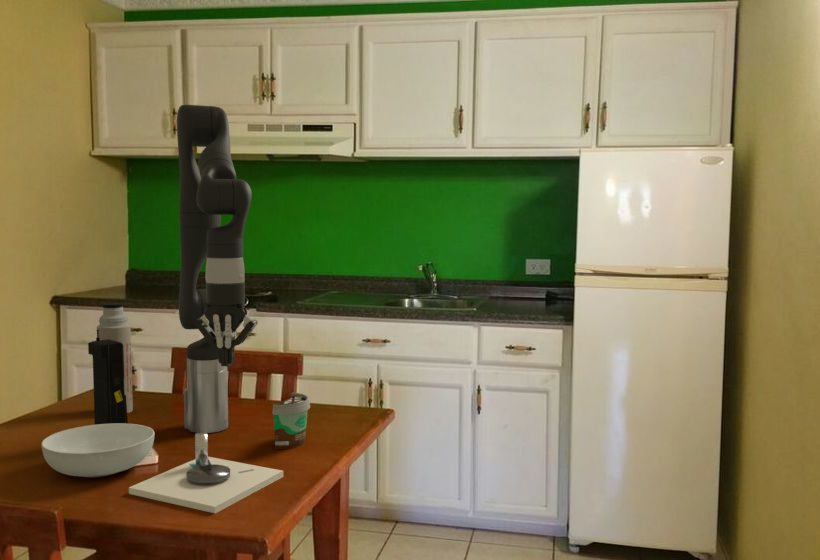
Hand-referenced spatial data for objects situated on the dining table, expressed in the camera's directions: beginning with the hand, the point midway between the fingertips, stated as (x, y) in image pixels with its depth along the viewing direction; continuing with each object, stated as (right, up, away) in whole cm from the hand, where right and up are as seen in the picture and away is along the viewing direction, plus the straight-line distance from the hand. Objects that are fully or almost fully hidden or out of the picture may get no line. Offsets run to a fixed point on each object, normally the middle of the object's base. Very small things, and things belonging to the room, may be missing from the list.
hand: (226, 365), depth 151 cm
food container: (+11, -20, +17) cm, 28 cm away
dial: (-2, -20, -7) cm, 21 cm away
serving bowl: (-25, -21, -1) cm, 33 cm away
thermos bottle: (-39, -17, +42) cm, 60 cm away
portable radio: (-30, -19, +17) cm, 39 cm away
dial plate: (-1, -22, -9) cm, 23 cm away
